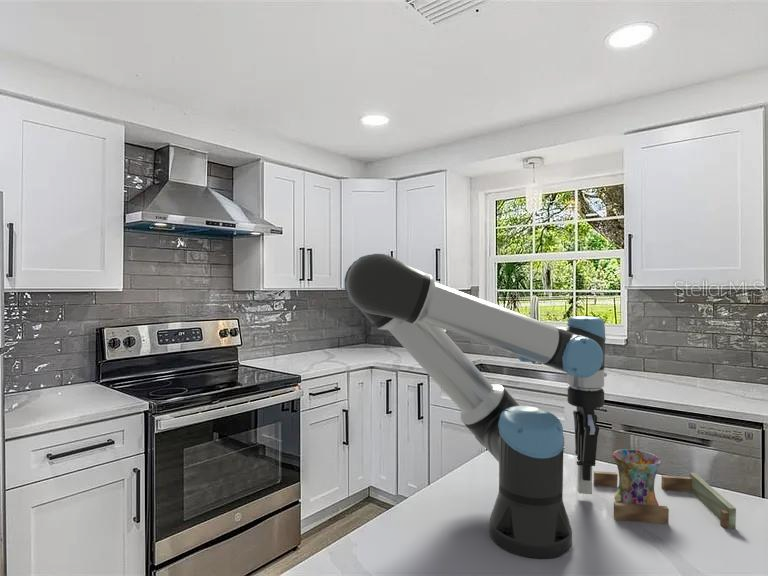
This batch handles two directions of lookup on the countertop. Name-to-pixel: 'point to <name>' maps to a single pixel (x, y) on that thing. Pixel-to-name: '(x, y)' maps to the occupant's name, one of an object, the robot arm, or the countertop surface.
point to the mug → (636, 476)
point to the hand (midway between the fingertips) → (584, 492)
